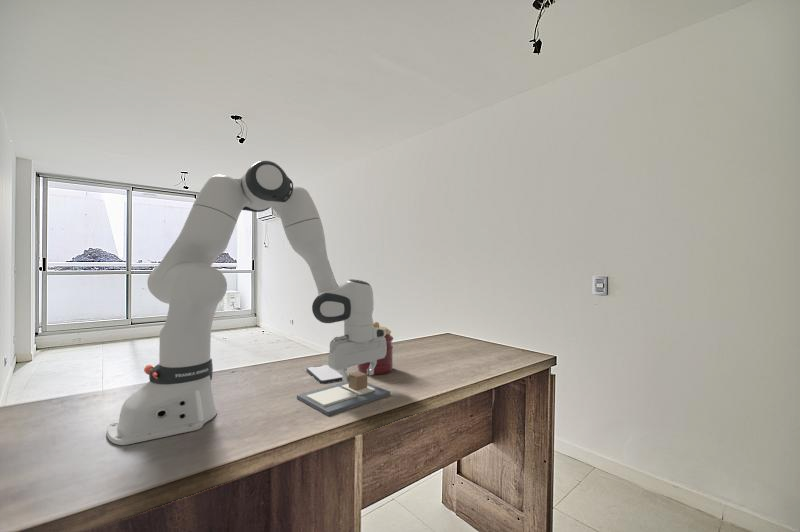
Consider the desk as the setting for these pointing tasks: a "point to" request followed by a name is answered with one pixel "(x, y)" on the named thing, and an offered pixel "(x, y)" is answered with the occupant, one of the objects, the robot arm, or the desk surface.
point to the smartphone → (324, 374)
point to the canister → (384, 363)
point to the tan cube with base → (358, 384)
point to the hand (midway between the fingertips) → (358, 377)
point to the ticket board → (339, 398)
